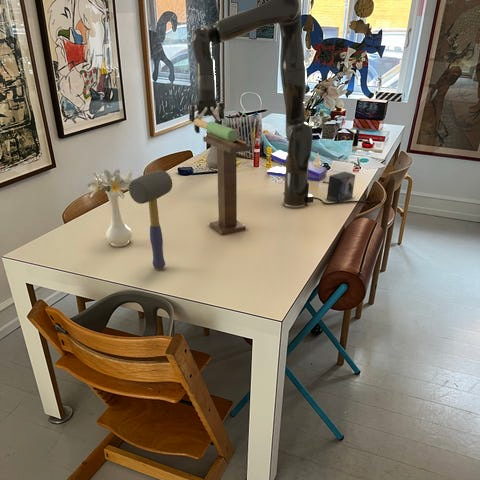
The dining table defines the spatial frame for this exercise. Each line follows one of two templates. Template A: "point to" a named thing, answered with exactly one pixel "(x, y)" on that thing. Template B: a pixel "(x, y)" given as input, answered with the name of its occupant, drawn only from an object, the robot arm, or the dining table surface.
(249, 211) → the dining table surface
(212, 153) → the coffee pot
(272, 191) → the dining table surface
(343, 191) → the small box
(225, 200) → the stand
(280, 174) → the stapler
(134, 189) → the rubber mallet
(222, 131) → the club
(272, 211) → the dining table surface
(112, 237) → the flower vase
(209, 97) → the robot arm
